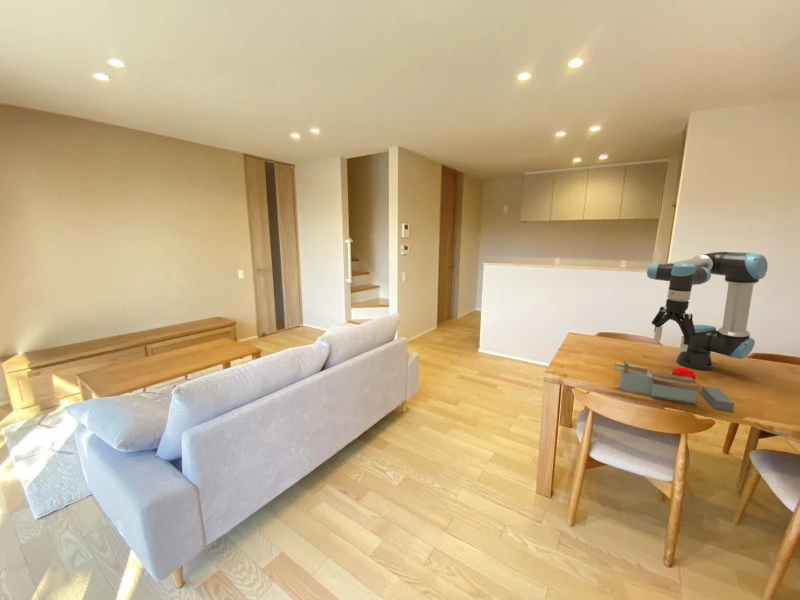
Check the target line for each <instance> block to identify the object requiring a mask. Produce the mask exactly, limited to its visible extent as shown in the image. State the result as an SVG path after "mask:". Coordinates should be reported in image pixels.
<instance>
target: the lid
mask: <svg viewBox="0 0 800 600" xmlns="http://www.w3.org/2000/svg"><path fill="white" fill-rule="evenodd" d="M648 373H651V375H652V376H653V380H652V381H653V383H654V384H658V385H664V386H670V387H677V388H683V389H690V390H696V391H698V392H700V390H701V386H700V385H699V384H698V383H697V382H696V380H695V381H694V380H693V379H692V378H691V377H685V376H679V375H672V373H671V374H670V373H663V372H657V371H650V370H648Z"/></svg>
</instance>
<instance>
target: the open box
mask: <svg viewBox="0 0 800 600" xmlns="http://www.w3.org/2000/svg"><path fill="white" fill-rule="evenodd" d="M698 394H699V391H696V390H690V389H683V388H677V387H670V386H664V385H658V384H654V383H653V381H652V386H651V391H650V395H649V396H650V398H654V399H661V400H668V401H673V402H679V403H685V404H689V405H696V402H697V398H698Z"/></svg>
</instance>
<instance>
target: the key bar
mask: <svg viewBox="0 0 800 600" xmlns="http://www.w3.org/2000/svg"><path fill="white" fill-rule="evenodd" d="M625 366H626V365H625V364H624V363H621V362H615V363H614V370H615V371H619V372H621V371H624V372H625ZM627 372H630V373H637V374H644V375H647V373H649V368H648V367H647V366H643V365H636V364H629V363H628V371H627Z"/></svg>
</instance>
